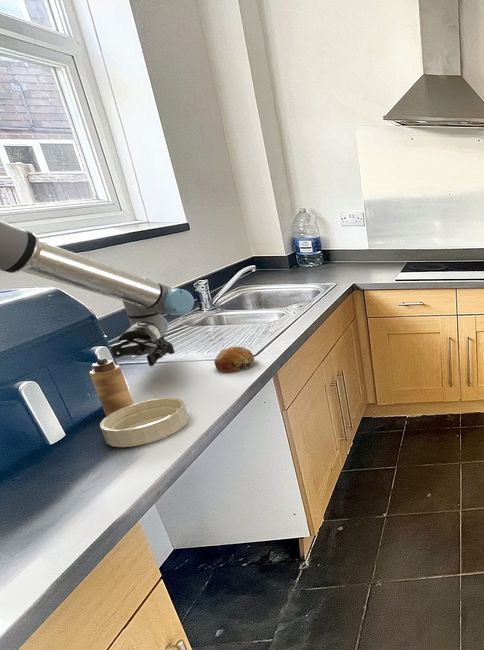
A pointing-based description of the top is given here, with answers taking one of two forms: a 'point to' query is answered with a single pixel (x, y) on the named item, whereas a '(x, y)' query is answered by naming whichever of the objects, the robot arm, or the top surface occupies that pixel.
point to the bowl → (144, 422)
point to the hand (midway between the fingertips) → (114, 366)
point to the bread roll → (234, 359)
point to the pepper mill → (110, 386)
